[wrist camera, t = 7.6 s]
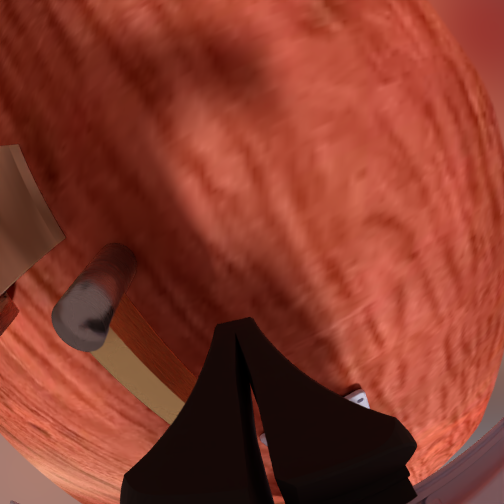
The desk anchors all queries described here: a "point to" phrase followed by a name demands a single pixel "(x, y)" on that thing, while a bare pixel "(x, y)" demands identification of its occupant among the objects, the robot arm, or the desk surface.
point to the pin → (6, 311)
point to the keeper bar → (122, 333)
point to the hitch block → (22, 218)
